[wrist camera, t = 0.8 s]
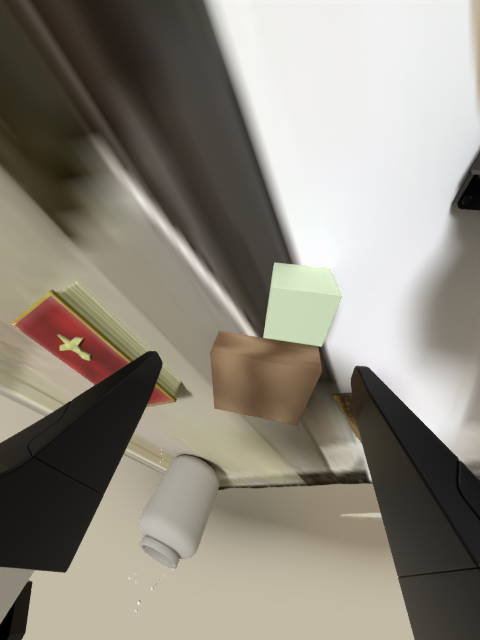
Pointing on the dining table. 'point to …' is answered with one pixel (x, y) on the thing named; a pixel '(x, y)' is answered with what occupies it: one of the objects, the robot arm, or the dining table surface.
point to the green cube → (301, 304)
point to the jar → (178, 511)
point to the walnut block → (263, 376)
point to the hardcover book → (88, 338)
